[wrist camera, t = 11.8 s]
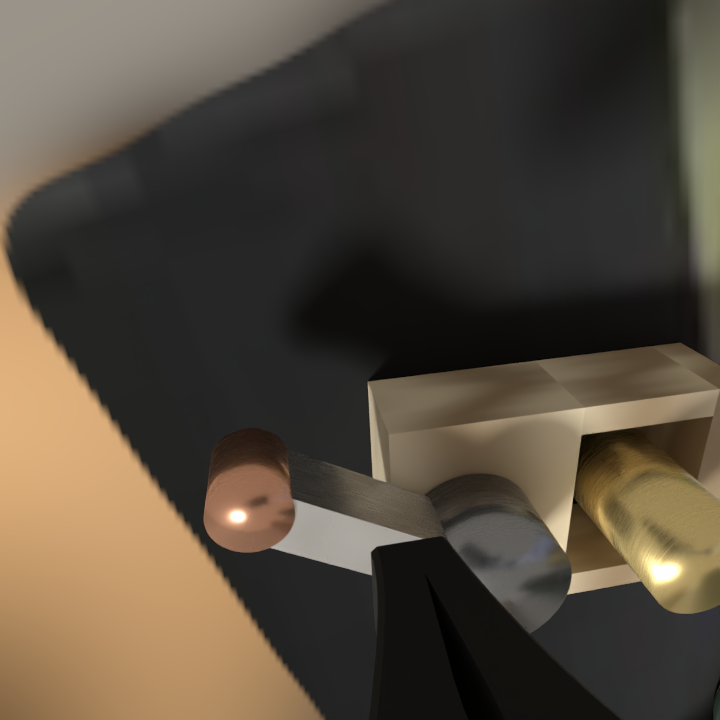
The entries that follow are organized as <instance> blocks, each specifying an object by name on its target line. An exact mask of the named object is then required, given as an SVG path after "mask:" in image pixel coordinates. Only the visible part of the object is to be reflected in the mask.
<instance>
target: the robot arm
mask: <svg viewBox="0 0 720 720" xmlns="http://www.w3.org/2000/svg"><path fill="white" fill-rule="evenodd" d="M371 566H372V584H373V601H374V618H375V627H376V633H377V643H376V660H375V670H374V679H373V688H372V698H371V707H370V714H369V720H623V719H622V718H620V717H619V716H618V715H617V714H616V713H614V712H613V711H612V710H611V709H610V708H609V707H607V706H606V705H605V704H604V703H603V702H601V701H600V700H599V699H598V698H597V697H596V696H595V695H593V694H592V693H591V692H590V691H589V690H588V689H587V688H586V687H585V686H583V685H582V684H581V683H580V682H579V681H578V680H577V679H576V678H575V677H574V676H572V675H571V674H570V673H569V672H568V671H567V670H566V669H565V668H564V667H563V666H562V665H561V664H560V663H559V662H558V661H557V660H556V659H555V658H554V657H552V656H551V655H550V654H549V653H548V652H547V651H546V650H545V649H544V648H543V647H542V646H541V645H540V644H539V643H538V642H537V641H536V640H535V639H534V638H533V637H532V636H531V635H530V634H529V633H528V632H527V631H526V630H525V628H524V627H523V626H522V625H521V624H520V623H519V622H518V621H517V620H516V619H515V618H514V617H513V616H512V615H511V614H510V613H509V612H508V611H507V610H506V608H505V607H504V606H503V605H502V604H501V603H500V602H499V601H498V600H497V599H496V598H495V596H494V595H493V594H492V593H491V592H490V591H489V590H488V589H487V587H486V586H485V585H484V584H483V583H482V582H481V580H480V579H479V578H478V577H477V576H476V575H475V574H474V572H473V571H472V570H471V569H470V568H469V566H468V565H467V564H466V563H465V562H464V560H463V559H462V558H461V557H460V555H459V554H458V553H457V552H456V550H455V549H454V548H453V547H452V545H451V544H450V543H449V541H448V540H447V539H445V538H444V537H443V536H438V537H432V538H426V539H420V540H414V541H407V542H401V543H395V544H389V545H383V546H377V547H376V548H375V549H374V550H373V551H372V552H371Z"/></svg>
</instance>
